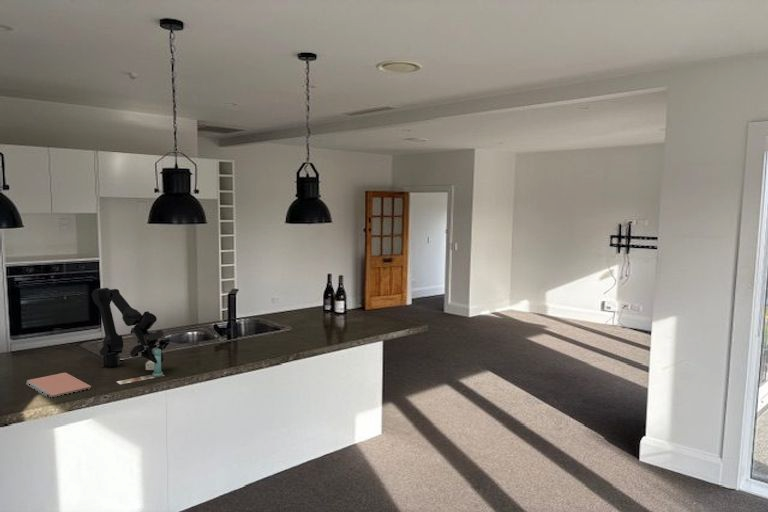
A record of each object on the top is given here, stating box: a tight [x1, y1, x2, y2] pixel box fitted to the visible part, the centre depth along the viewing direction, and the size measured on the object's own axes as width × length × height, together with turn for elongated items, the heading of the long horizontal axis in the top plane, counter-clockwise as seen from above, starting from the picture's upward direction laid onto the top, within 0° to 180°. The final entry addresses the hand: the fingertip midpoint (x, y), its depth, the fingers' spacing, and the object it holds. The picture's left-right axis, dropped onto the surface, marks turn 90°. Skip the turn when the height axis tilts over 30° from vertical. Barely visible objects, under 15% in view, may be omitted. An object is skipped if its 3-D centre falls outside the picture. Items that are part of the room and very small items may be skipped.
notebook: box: [26, 372, 92, 399], centre depth 237 cm, size 27×17×2 cm, turn 52°
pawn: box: [152, 348, 164, 378], centre depth 252 cm, size 4×4×13 cm
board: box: [116, 374, 165, 385], centre depth 247 cm, size 21×6×2 cm, turn 135°
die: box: [145, 359, 154, 371], centre depth 262 cm, size 5×5×5 cm
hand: (159, 362), depth 251 cm, fingers closed on pawn, 3 cm apart
